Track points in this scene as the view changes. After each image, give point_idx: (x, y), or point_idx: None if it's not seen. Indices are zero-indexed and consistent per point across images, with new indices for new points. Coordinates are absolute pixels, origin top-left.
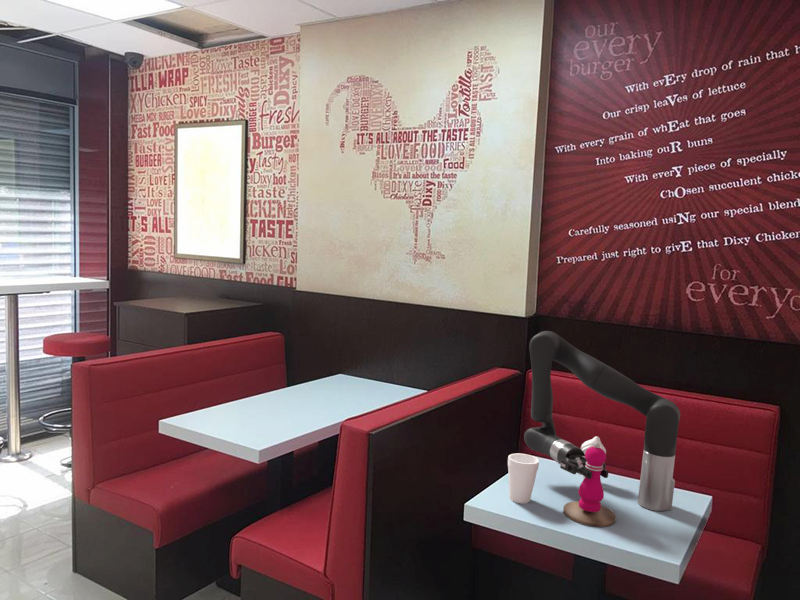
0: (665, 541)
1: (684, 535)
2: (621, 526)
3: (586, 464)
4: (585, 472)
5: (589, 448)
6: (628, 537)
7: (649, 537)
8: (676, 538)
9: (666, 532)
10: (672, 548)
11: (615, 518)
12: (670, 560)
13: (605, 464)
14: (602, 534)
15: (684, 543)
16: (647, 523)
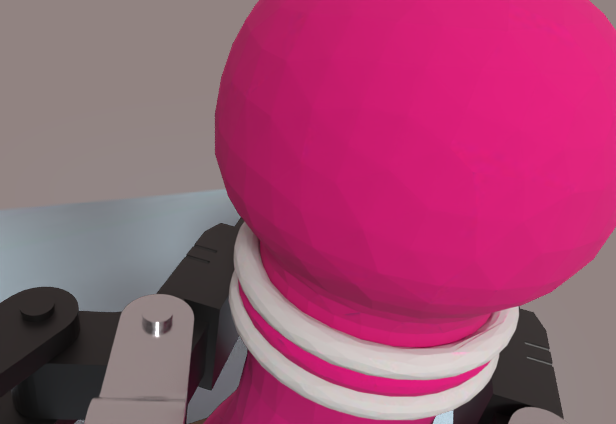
0: (177, 235)
1: (38, 217)
2: (209, 391)
3: (516, 319)
4: (545, 337)
5: (608, 29)
6: None
7: None
8: (104, 224)
9: (72, 258)
10: (214, 209)
11: (193, 422)
12: None
13: (19, 296)
14: None
15: (127, 201)
16: None
